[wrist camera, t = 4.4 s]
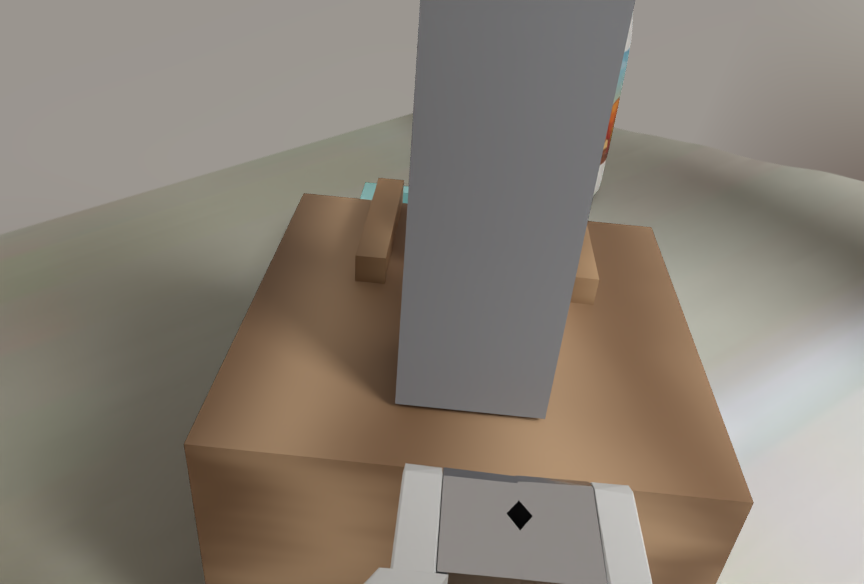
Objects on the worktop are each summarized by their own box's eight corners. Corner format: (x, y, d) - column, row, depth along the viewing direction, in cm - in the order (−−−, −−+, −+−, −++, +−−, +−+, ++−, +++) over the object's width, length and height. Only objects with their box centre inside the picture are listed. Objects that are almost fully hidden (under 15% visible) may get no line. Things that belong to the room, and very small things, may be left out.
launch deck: (601, 412, 35) (657, 205, 29) (654, 714, 24) (767, 474, 18) (308, 382, 36) (303, 170, 29) (218, 667, 24) (178, 413, 18)
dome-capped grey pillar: (538, 343, 22) (638, -169, 15) (545, 426, 19) (674, -162, 12) (406, 329, 23) (442, -187, 15) (393, 411, 20) (430, -183, 12)
